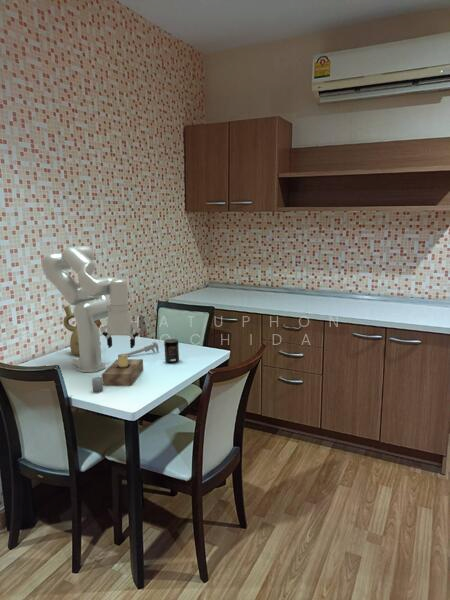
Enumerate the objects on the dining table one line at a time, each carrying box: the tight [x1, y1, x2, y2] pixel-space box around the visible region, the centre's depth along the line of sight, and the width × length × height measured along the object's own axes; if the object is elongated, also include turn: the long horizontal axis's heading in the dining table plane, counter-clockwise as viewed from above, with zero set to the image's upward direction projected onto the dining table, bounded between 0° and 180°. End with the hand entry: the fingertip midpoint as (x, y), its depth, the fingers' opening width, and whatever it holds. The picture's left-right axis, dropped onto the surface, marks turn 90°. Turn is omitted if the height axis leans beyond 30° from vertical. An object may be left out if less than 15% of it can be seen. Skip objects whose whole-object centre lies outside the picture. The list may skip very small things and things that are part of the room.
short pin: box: [91, 376, 104, 394], centre depth 187 cm, size 4×4×5 cm
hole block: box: [101, 358, 144, 387], centre depth 202 cm, size 12×20×5 cm, turn 176°
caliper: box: [125, 341, 160, 357], centre depth 234 cm, size 20×1×6 cm, turn 114°
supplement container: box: [163, 338, 180, 365], centre depth 222 cm, size 7×7×10 cm
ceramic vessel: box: [62, 304, 102, 356], centre depth 240 cm, size 17×20×25 cm
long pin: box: [117, 353, 129, 368], centre depth 202 cm, size 4×4×10 cm
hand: (121, 347), depth 200 cm, fingers open, 9 cm apart
